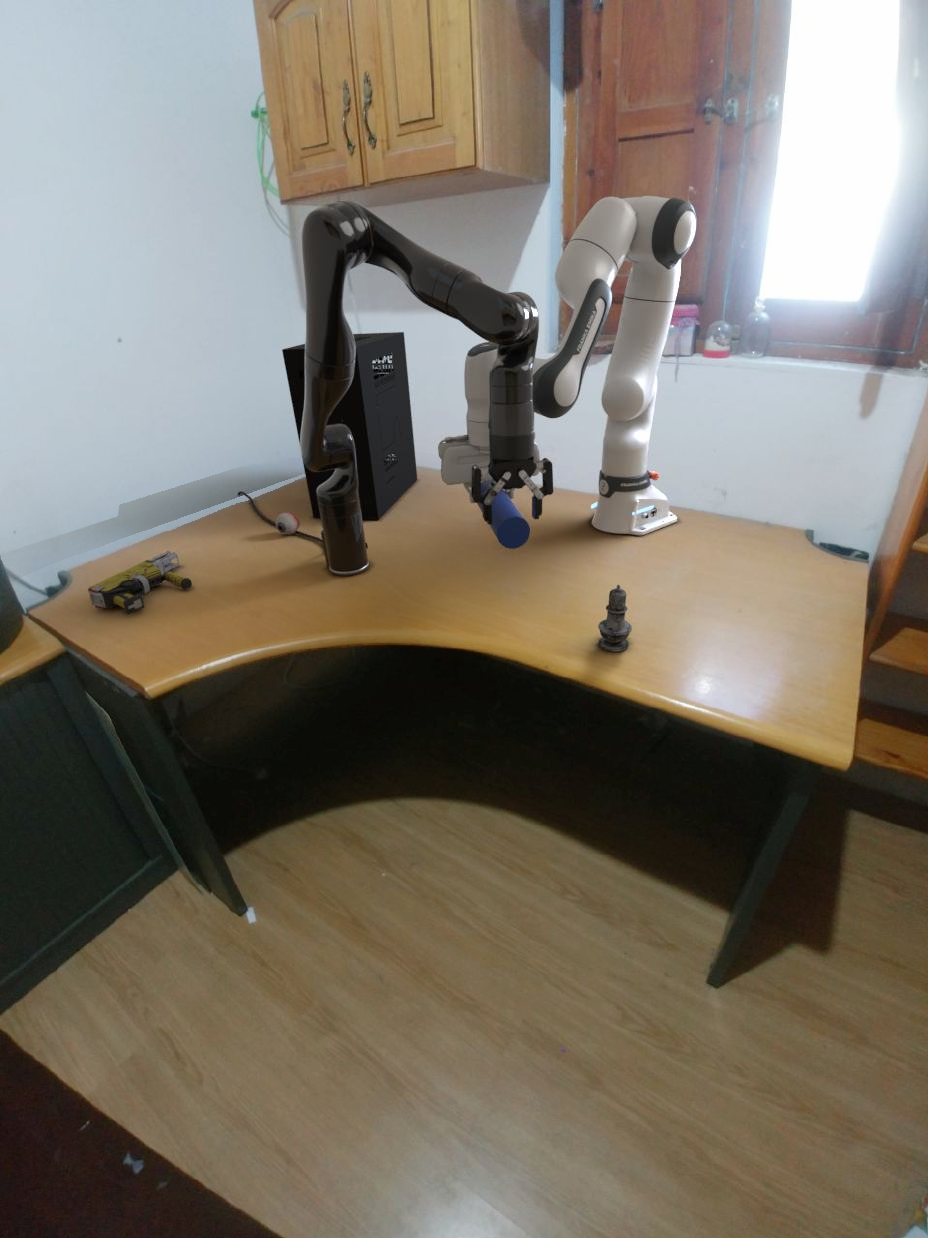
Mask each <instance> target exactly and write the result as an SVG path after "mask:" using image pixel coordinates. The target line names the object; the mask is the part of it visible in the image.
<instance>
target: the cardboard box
mask: <svg viewBox="0 0 928 1238" xmlns="http://www.w3.org/2000/svg"><path fill="white" fill-rule="evenodd" d="M353 335H354V339H355V344H356V357H355V368H354V377H353V380H352V383H351V385H350V387H349V389H348V391H347V392H346V394H345V395H344V397H343V398H342V399H341V401H340V402H339V404H338V405H337V406H336V408H335V409H334V410H333V412H332V413H331V415H330V417H329V419H328V421H327V425H330V424H335V423H343V424H345V425H346V426H347V427H348V428H349V429H350V431H351V433H352V436H353V439H354V444H355V451H356V462H357V473H358V482H359V485H358V493H359V500H360V507H361V514H362V520H372V521H373V520H374V521H379V520H380V519H381V518H382V517H383V516H384V515H385V514H386V513H387V512H388V511H389V510H390V509H391V508H392V507H393V506H394V505H395V504H396V503H397V501H399V499H400V498H401V497H403V495H405V493H406V492H407V491H408V490H409V489H410V488H411V487H412V486H413V485H414V484H415V483H416V482H417V481H418V472H417V471H418V470H417V460H416V459H417V458H416V451H415V450H416V449H415V440H414V426H413V418H412V407H411V395H410V385H409V373H408V363H407V351H406V341H405V332H404V331H397V332H395V331H394V332H371V333H368V332H367V333H353ZM281 352H282V357H283V363H284V368H285V371H286V373H285V374H286V379H287V383H288V389H289V394H290V399H291V405H292V410H293V415H294V421H295V428H296V432H297V437H298V442H299V444H300V435H301V426H302V418H303V410H304V399H305V343H302V344H298V345H294V346H291V347H286V348H283V349H281ZM389 361H391V362H389ZM302 464H303V465H302V466H303V470H304V475H305V480H306V485H307V491H308V497H309V503H310V507H311V512H312V517H313V518H317V519H318V518H319V519H321V516H320V510H319V505H318V500H317V494H316V490H317V488H318V487H319V485H321V484H322V483H323V482H325V481H326V480H328V479H329V478H330V477H331V476H332V474H333V473H334V471H335V469H333V470H328V471H324V472H312V471H310V470H309V469H308V468H307V467H306V466H305V464H304V462H303V461H302Z"/></svg>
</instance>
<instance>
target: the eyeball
mask: <svg viewBox="0 0 928 1238" xmlns="http://www.w3.org/2000/svg"><path fill="white" fill-rule="evenodd" d="M275 523H276V525H275V527H276V529H277V530H278V531H279V532H280V533H281V534H282V535H285V536H286V535H287V536H289V535H293V534H295V533H294V532H296V531H298V529H299V525H300V522H299V519H298V517H297V516H296V515H295V514H294V513H292V512H287V511H286V512H282V513H280V514H279V515H278V516H277V517H276V520H275Z"/></svg>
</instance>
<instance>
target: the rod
mask: <svg viewBox="0 0 928 1238" xmlns="http://www.w3.org/2000/svg"><path fill="white" fill-rule="evenodd" d="M490 482H491V481H482V482H481V494H484V492H485V491H486V489H487V487H488V484H489V483H490ZM512 500H513V499H510V498H509V496H508V495H507V494H506V492H505V490H504V489H501V490H500V492H499V493H498V495H496V496H495V497H494V499H493V500H492V502H491V504H492V524H489V525H488V526H489V527H490V529H491V531H492V533H493V535H494V536H495V538H496V540H497V541H498V543H499V544H500V545H501V546H502V547H503V548H506V549H509V550H515V549H518V548H521V547H523V546H524V545H525V544H526V543H527V542H528V540H529V539H530V536H531V527H530V524H529V522H528V521H527V520H526V518H525V516H524V515H523V514H522V512H521V511H520V510H519V508H518V507H517V506H516V505H515V503H514V502H513V501H512ZM476 504H477V506H478V508H479V509H480V511H481V512H482V503H479V502H478V503H476Z"/></svg>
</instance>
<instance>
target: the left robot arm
mask: <svg viewBox="0 0 928 1238" xmlns="http://www.w3.org/2000/svg"><path fill="white" fill-rule="evenodd" d="M301 254H302V256H301V257H302V266H303V267H302V269H303V278H304V291H305V292H304V293H305V339H304V340H305V342H304V344H305V399H304V410H303V418H302V426H301V435H300V443H299V448H300V455H301V460H302V463H303V462H304V464H305V466H306V467H307V468H308V469H309V470H310V471H312V472H324V471H328V470H333V469H335V471H334V473H333V474H332V476H331V477H330V478H329V479H328V480H326V481H325V482H323V483H322V484H321V485H319V487H318V488H317V490H316V494H317V500H318V505H319V510H320V516H321V518H320V521H321V526H322V530H321V531H320V536H321V538H320V537H317V536H315V535H311V534H308V533H304V532H302V531H299V530H297V531H296V532H294V533H293V534H297V535H300V536H302V537H306V538H309V539H311V540H316V541H317V542H319V543H321V544H322V548H323V552H324V557H325V558H324V559H325V563H326V568H327V569H329V572H330V573H331V574H333V575H335V576H341V577H343V576H345V577H346V576H353V575H357V574H361V573H363V572H365V571H366V570H368V569H369V567H370V560H369V558H368V549H369V547H368V543H367V541H366V535H365V529H364V521H363V519H362V514H361V507H360V500H359V493H358V485H359V482H358V473H357V462H356V451H355V444H354V439H353V436H352V433H351V431H350V429H349V428H348V427H347V426H346V425H345V424H343V423H335V424H330V425H327V421H328V419H329V417H330V415H331V413H332V412H333V410H334V409H335V408H336V406H337V405H338V404H339V402H340V401H341V399H342V398H343V397H344V395H345V394H346V392H347V391H348V389H349V387H350V385H351V383H352V380H353V377H354V368H355V357H356V344H355V339H354V335H353V334H354V333H353V330H352V328H351V326H350V324H349V322H348V320H347V317H346V315H345V311H344V294H345V293H344V291H345V283H346V277H347V273H348V271H350V270H352V269H354V268H357V267H358V266H360V265H362V264H368V265H372V266H375V267H379V268H382V269H384V270H386V271H387V272H390V273H392V274H393V275H394V276H396V277H397V278H398V279H399V280H400V281H401V283H403V284H404V286H405V287H406V288H407V289H408V290H409V292H410V293H411V294H412V295H413V296H414V297H415V298H416V299H417V300H419V301H420V302H422V303H423V304H424V305H426V306H427V307H430V308H431V309H434V310H435V311H437V312H439V313H441V314H443V315H445V316H448V317H450V318H451V319H454V320H456V321H459V322H460V323H462V325H464V326H465V327H466V328H467V329H468V330H470V331H471V332H473V333H474V334H476V335H477V336H478V337H480V338H481V339H483V340H485V341H486V342H491V343H493V344H496V345H497V357H496V360H495V362H494V363H493V365H492V366H491V368H490V373H489V392H490V408H489V423H488V428H489V444H490V462H489V465H488V466H485V467H478V466H477V465H473V466H472V482H471V488H470V490H471V496H472V498H473V500H474V501H475V502H476V503H475V504H477V503H478V502H479V503H482V511H481V513H482V518H483V520H484V522H485V523H487V525H488V526H490V525H489V524H492V504H491V502H492V500H493V499H494V497H495V496H496V495H498V493H499V492H500V490H501V489H504V491H505V490H510V489H512V488H515V489H518V490H519V489H523V487H525V486H526V487H527V488H528V490H529V491H531V493H532V494H533V495H532V496H531V516H532V518H533V520H539V519H540V516H542V514H543V499H544V498H545V497H547V496H551V495H553V493H554V474H553V473H554V472H553V468H554V467H553V462H552V460H550V459H548V458H547V457H543V458H542V459H540V461H535V460H534V442H535V440H534V431H535V412H534V408H533V364H534V359H535V358H536V354H537V348H538V347H537V346H538V340H539V332H540V331H539V329H540V315H539V310H538V306H537V304H536V302H535V301H534V299H533V298H532V297H531V295H529V294H527V293H525V292H523V291H511V292H504V291H500V290H498V289H496V288H493V287H492V286H489V285H488V284H486V283H484V282H483V280H482V278H481V277H480V276H479V275H477V274H476V273H475V272H473V271H471V270H470V269H467V268H465V267H463V266H461V265H459V264H457V263H454V262H453V261H451V260H449V259H447V258H444V257H442V256H440V255H438V254H436V253H435V252H432V251H430V250H429V249H427V248H425V247H423V246H421V245H420V244H418V243H416V242H415V241H413V240H411V239H410V238H409V237H408V236H405V235H404V234H403V233H402V232H400V231H398V230H397V229H396V228H394V227H393V226H391V225H390V224H388V223H387V222H386V221H384V220H383V219H381V218H380V217H379V216H378V215H376V214H375V213H374V212H372V211H371V210H370V209H368V208H366V207H365V206H363V205H361V204H360V203H359V202H357V201H354V200H351V199H339V200H335V201H333V202H330V203H327V204H324V205H322V206H319V207H316V208H314V209H313V210H311V211H310V212H309V213H307V215H306V216H305V217H304V221H303V223H302V228H301ZM536 468H538V469H539V471H540V472H539V473H541V474H542V475H541V478H542V480H541V481H542V486H541V487H538V486H537V484H535V482H534V481H533V480H532V479H531V478H532V477H533V476H532V475H533V473H534V472H535V470H536ZM487 473H489V474H490V476H491V477H492V478H493V479H492V480H491V482H490V483H489V484H488V487H487V489H486V491H485V492H484V494H481V480H483V479H484V478H485V475H486V474H487ZM240 495H243V496H245V497H246V498H247V499H248V500H249V502H250V505H251V506H252V508H253V510H254V511H255V512H256V514H257V515H258V516H259V517H261V518H262V519H263V520H265V521H266V522H268V523H270V524H271V525H274V526H276V521H273V520H271V519H270V518H268V517H266V516H265V515H264V514H262V512H260V511H259V510H258V508H257V507H256V505H255V504H254V501H253V498H252V497H251V496H250V495H249V494H247V493H246V492H245V491H238V492H237V496H240Z"/></svg>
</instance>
